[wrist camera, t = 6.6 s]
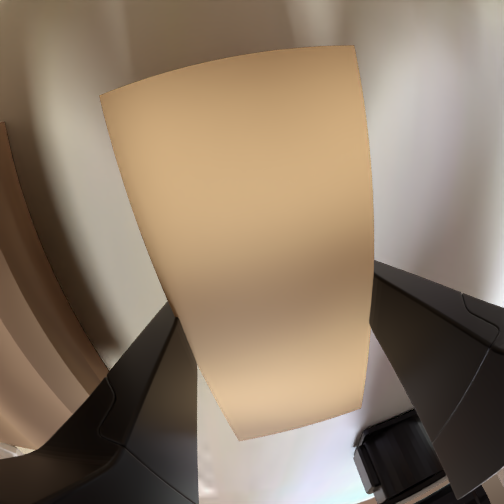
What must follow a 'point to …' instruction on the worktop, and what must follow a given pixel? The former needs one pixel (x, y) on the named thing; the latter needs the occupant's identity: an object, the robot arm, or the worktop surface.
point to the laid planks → (35, 329)
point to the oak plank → (258, 225)
